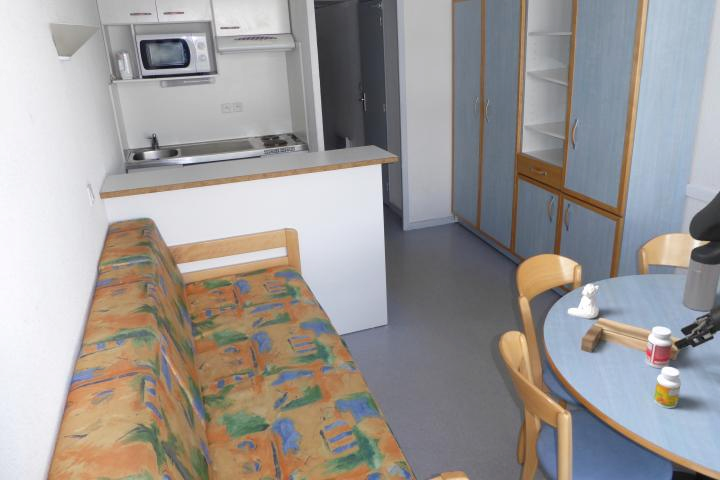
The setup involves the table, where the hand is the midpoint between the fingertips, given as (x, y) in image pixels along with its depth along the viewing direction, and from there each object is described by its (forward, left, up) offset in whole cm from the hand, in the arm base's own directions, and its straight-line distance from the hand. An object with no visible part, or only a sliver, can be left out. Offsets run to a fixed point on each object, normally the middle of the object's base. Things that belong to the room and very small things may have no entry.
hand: (679, 339), depth 154 cm
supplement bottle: (+17, +1, -10) cm, 20 cm away
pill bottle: (0, -5, -10) cm, 11 cm away
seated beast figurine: (-18, -31, -10) cm, 37 cm away
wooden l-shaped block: (-4, -13, -10) cm, 16 cm away
